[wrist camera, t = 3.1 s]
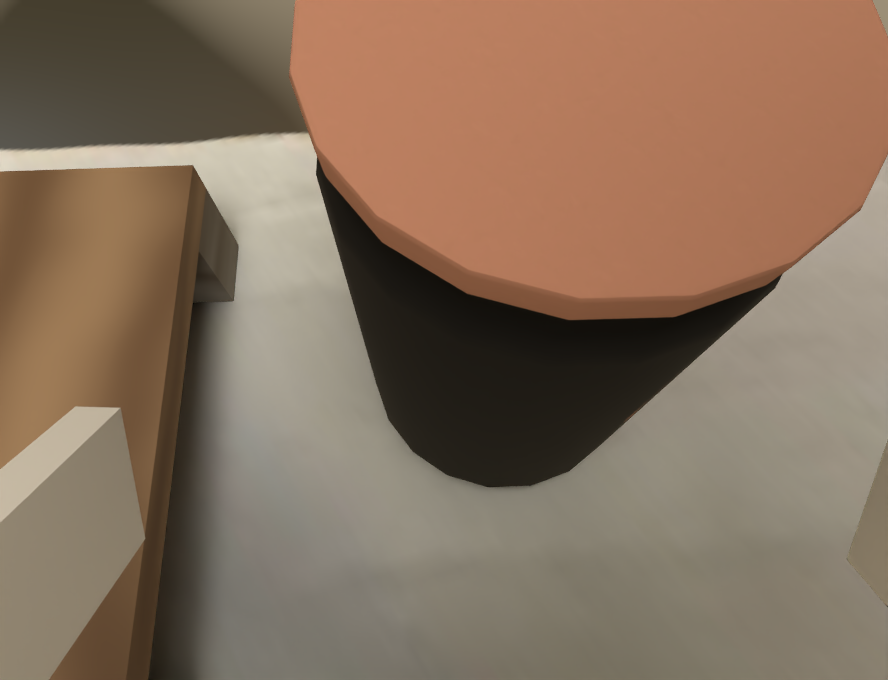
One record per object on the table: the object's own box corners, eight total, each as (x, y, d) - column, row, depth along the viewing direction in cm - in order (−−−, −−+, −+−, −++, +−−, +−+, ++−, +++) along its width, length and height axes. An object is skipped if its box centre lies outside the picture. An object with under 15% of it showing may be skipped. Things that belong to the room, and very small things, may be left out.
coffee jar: (615, 508, 25) (966, 343, 8) (358, 475, 26) (212, 258, 9) (618, 279, 29) (860, -136, 13) (396, 254, 30) (346, -181, 13)
